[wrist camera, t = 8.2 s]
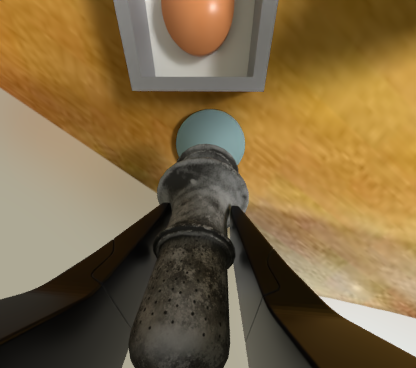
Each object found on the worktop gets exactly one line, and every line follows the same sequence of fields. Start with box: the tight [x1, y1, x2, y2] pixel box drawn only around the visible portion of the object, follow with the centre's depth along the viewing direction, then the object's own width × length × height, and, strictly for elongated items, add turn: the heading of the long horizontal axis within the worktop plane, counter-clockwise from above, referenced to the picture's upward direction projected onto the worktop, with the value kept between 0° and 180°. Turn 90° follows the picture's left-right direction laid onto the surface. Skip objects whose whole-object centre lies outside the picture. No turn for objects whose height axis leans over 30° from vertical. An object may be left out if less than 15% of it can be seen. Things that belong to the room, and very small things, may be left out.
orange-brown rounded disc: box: [161, 0, 234, 57], centre depth 13 cm, size 6×6×1 cm
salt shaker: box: [128, 144, 249, 368], centre depth 8 cm, size 6×6×12 cm
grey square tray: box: [113, 0, 278, 92], centre depth 12 cm, size 11×11×4 cm
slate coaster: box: [176, 109, 245, 165], centre depth 20 cm, size 8×8×1 cm
